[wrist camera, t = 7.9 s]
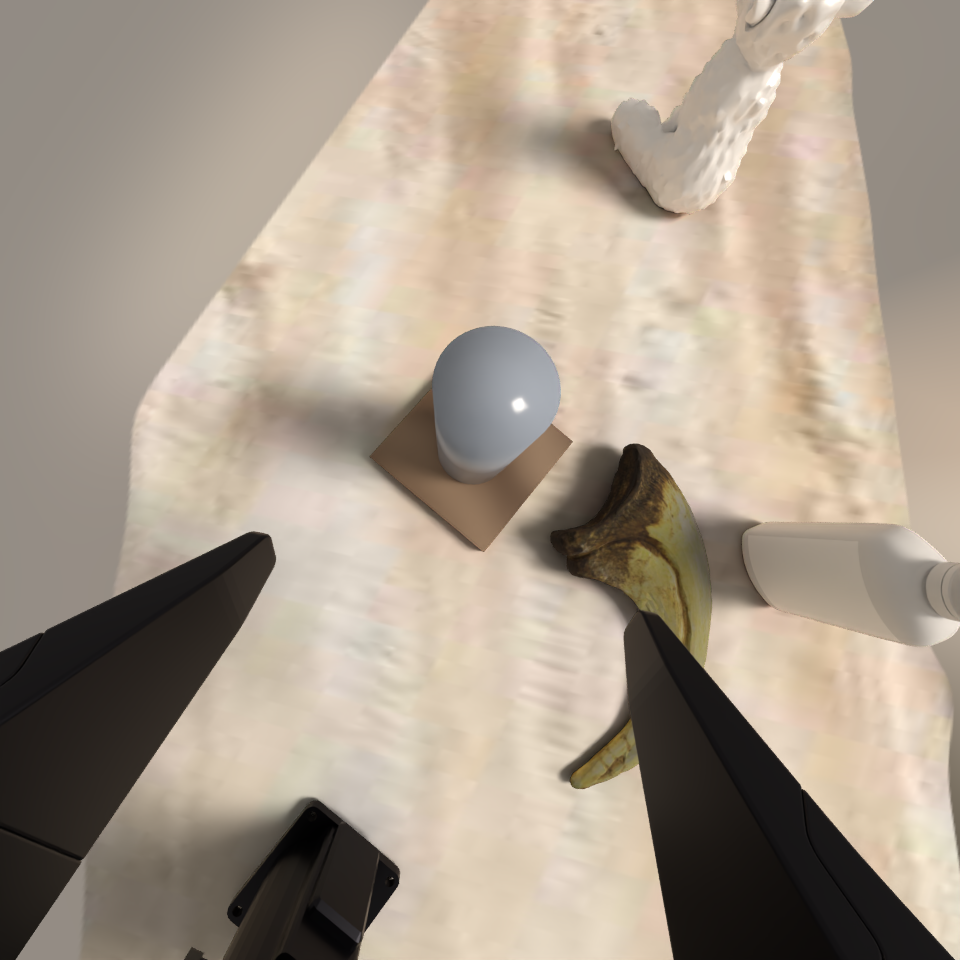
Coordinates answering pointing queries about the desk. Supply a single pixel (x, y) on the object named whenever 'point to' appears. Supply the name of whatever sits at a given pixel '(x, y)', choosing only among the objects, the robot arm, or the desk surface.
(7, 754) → the robot arm
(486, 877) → the desk surface
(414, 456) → the coaster
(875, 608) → the eye dropper bottle
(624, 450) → the claw
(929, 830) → the desk surface
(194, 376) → the desk surface
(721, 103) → the white creature statuette
